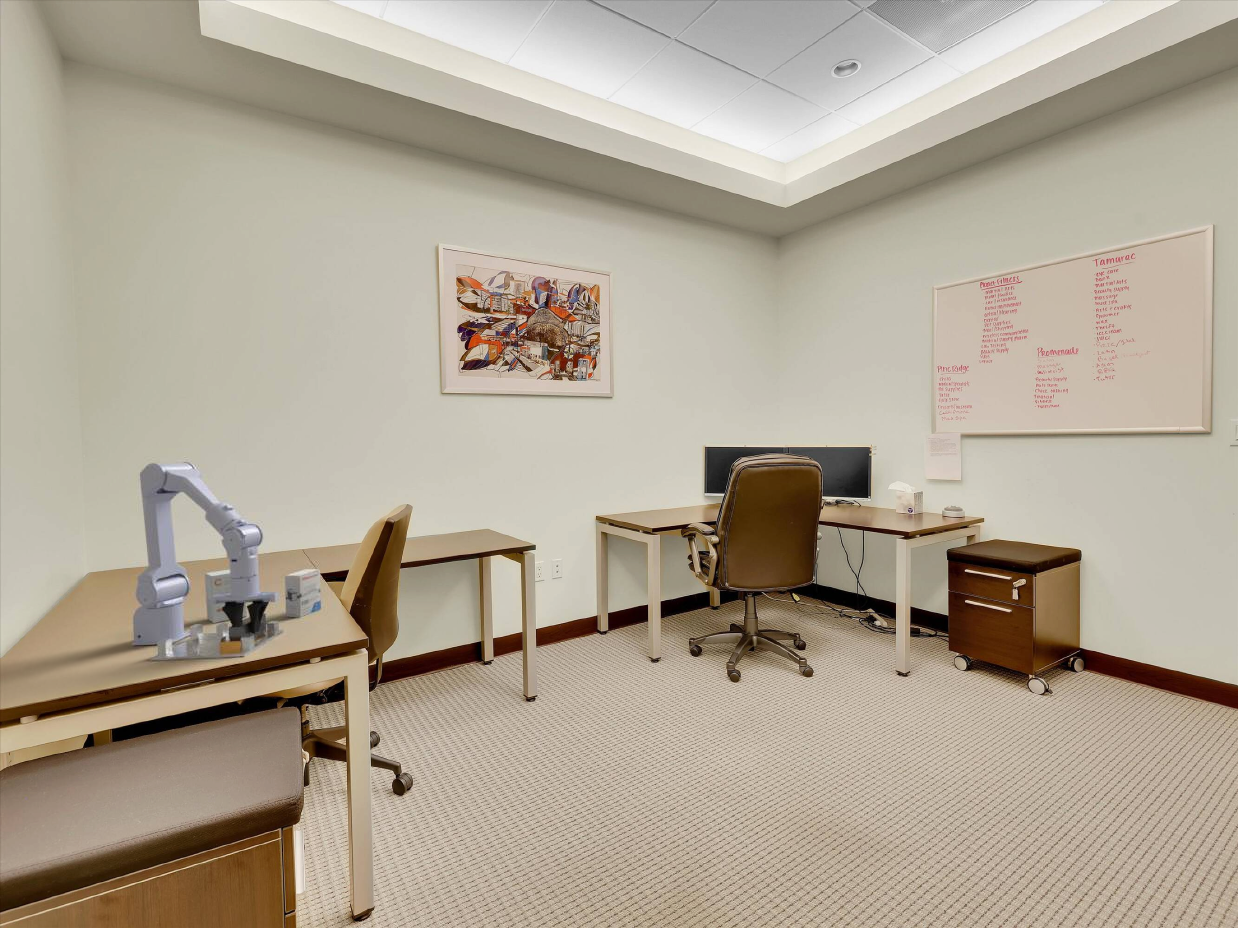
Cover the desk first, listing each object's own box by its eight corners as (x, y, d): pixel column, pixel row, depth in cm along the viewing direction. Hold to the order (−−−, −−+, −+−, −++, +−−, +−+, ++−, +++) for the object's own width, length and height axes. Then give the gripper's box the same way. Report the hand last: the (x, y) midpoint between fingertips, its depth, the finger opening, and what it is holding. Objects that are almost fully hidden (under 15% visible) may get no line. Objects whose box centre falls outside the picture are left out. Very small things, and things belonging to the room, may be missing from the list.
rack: (151, 660, 131) (150, 644, 131) (201, 635, 148) (200, 621, 148) (244, 656, 132) (243, 640, 132) (283, 632, 149) (282, 618, 149)
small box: (240, 612, 169) (238, 567, 168) (247, 616, 165) (245, 570, 164) (206, 619, 163) (204, 572, 162) (213, 623, 159) (210, 575, 158)
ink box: (307, 608, 172) (305, 568, 171) (322, 609, 171) (321, 568, 170) (285, 617, 163) (283, 575, 163) (301, 617, 162) (299, 575, 162)
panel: (229, 649, 135) (228, 627, 135) (256, 633, 146) (255, 613, 146) (240, 648, 135) (239, 627, 135) (266, 633, 146) (265, 613, 146)
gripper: (284, 571, 144) (286, 625, 145) (223, 573, 143) (225, 628, 144) (269, 577, 137) (271, 635, 138) (204, 580, 136) (207, 637, 137)
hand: (247, 632), depth 140 cm, fingers open, 3 cm apart
